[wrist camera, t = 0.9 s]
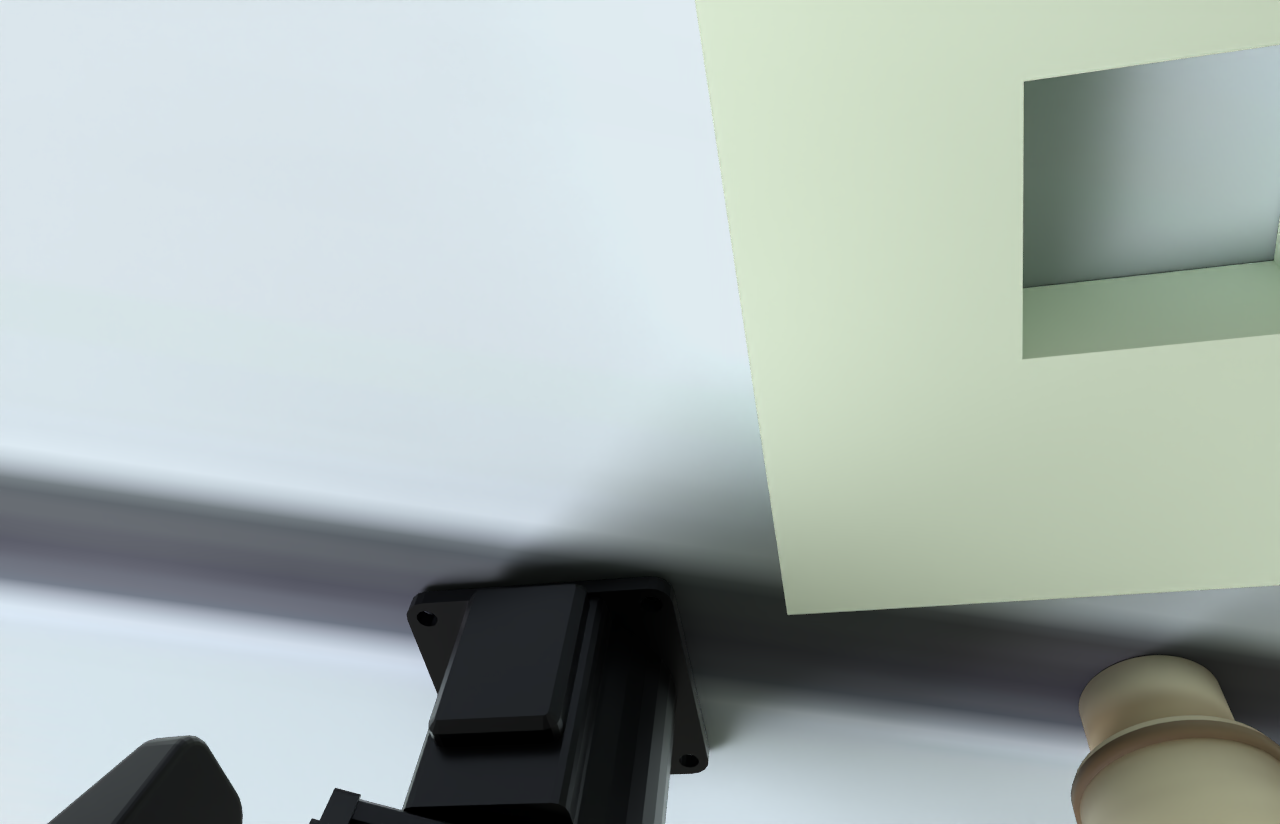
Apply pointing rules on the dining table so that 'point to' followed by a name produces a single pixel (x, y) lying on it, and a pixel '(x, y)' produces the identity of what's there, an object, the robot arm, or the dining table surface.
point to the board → (978, 316)
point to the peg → (1170, 750)
